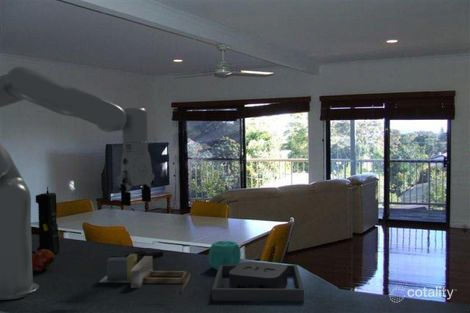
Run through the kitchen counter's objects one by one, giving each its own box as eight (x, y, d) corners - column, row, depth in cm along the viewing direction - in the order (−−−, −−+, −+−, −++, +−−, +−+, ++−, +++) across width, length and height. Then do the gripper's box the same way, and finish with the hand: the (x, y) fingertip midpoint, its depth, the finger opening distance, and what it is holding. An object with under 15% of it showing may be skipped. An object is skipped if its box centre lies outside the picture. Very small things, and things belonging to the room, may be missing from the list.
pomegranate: (58, 274, 157) (38, 254, 160) (66, 259, 155) (46, 239, 157) (40, 283, 151) (20, 262, 154) (48, 267, 148) (28, 246, 151)
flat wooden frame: (89, 292, 132) (88, 270, 132) (107, 275, 148) (107, 255, 148) (181, 292, 131) (181, 270, 130) (190, 275, 147) (190, 256, 146)
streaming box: (289, 282, 140) (289, 265, 140) (276, 297, 127) (276, 278, 126) (243, 277, 145) (243, 261, 145) (226, 292, 132) (225, 273, 131)
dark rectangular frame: (212, 300, 124) (211, 289, 124) (219, 274, 148) (219, 264, 148) (303, 301, 123) (303, 289, 123) (296, 274, 147) (296, 264, 147)
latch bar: (107, 280, 138) (106, 256, 138) (111, 277, 142) (110, 253, 141) (134, 280, 138) (133, 257, 137) (137, 277, 141) (136, 253, 141)
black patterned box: (140, 245, 172) (105, 253, 160) (177, 246, 159) (142, 255, 148) (141, 259, 171) (106, 268, 160) (178, 262, 159) (143, 272, 147)
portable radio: (52, 257, 172) (50, 188, 171) (35, 257, 172) (33, 188, 171) (60, 252, 180) (58, 186, 178) (44, 252, 180) (42, 186, 179)
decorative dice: (219, 263, 161) (219, 239, 161) (241, 265, 158) (240, 241, 158) (208, 269, 154) (208, 244, 154) (230, 271, 151) (230, 247, 150)
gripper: (126, 148, 136) (127, 207, 137) (162, 147, 152) (163, 200, 152) (106, 148, 140) (107, 206, 140) (143, 147, 155) (144, 199, 156)
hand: (136, 203), depth 146 cm, fingers open, 9 cm apart
